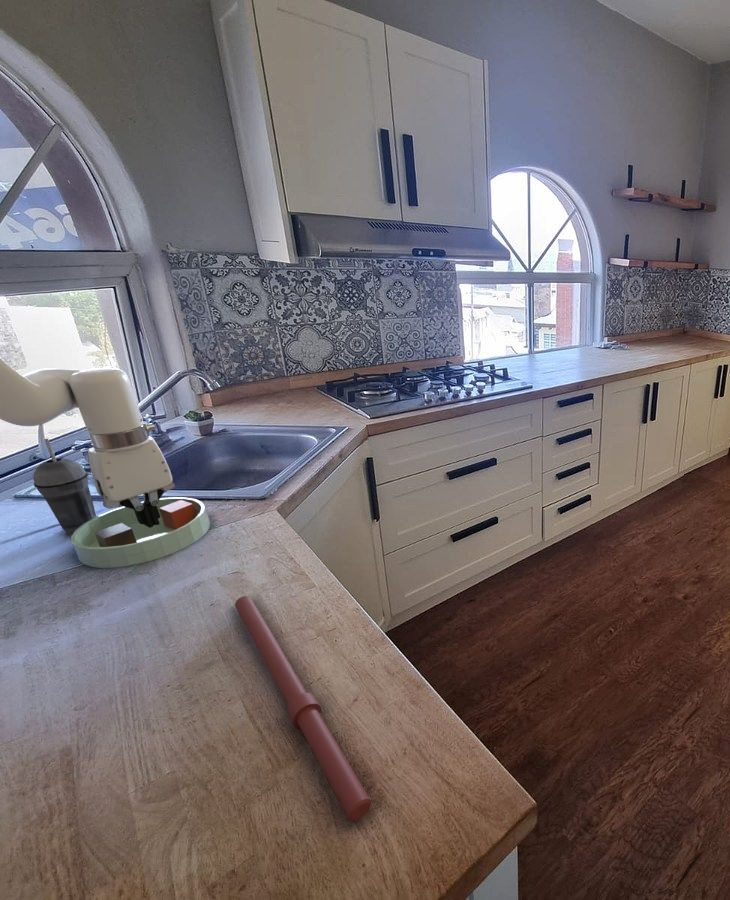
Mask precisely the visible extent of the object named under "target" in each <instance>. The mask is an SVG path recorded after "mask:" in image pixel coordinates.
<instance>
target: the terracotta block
mask: <svg viewBox="0 0 730 900" xmlns="http://www.w3.org/2000/svg"><path fill="white" fill-rule="evenodd" d="M159 510H160V513H161V516H162V519H163V522H164V525H165V526H168V527H170V528H173V529H175V530H176V529H178V528H180V527H182V526H184V525H186V524H187V523H189V522H190V521H192V520H193V519H195V518H196V517H197V516H196V513H195V509H194V506H193V504H191V503H188V502H186V501H183V500H179V501H177V502H174V503H171V504H169V505H166V506H163V507H161V508H159Z"/></svg>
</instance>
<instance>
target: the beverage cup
mask: <svg viewBox="0 0 730 900" xmlns="http://www.w3.org/2000/svg"><path fill="white" fill-rule="evenodd" d="M44 442H45V445H46V447H47V450H48V453H49V455H50V459H47V460H45V461H43V462H42V463H40V464H39V465H38V466H37V467H36V468H35V470H34V472H33V474H32V475H33V476H32V479H33V487H34V488H36V489H37V491H38V492H39V494H40V495H41V496H42V497H43V498H44V501H46V503H47V505H48V507H49V508H50V510H51V512H52V513H53V515H54V517H55V519H56V520H57V522H58V523H59V525H60V527H61V529H62V530H63V531H64V532H65V534H66V535H67V536H72V535H73V533H74V532H75V530H77V529H78V528H79V527H80V526H82V525H83V524H84V523H86V522H88V521H90V520H92V519H93V518H95V517H97V513H96V509H95V506H94V502H93V498H92V494H91V490H90V487H89V485H90V483H89V478H88V476H89V473H88V472H87V471H86V469H85V468H84V467H83V466H82V465H81V464H80V463H78V462H77V461H75V460H72V459H69V458H62V457H57V458H56V455H55V452H54V450H53V447H52V445H51V441H50V439H49V438H44Z"/></svg>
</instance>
